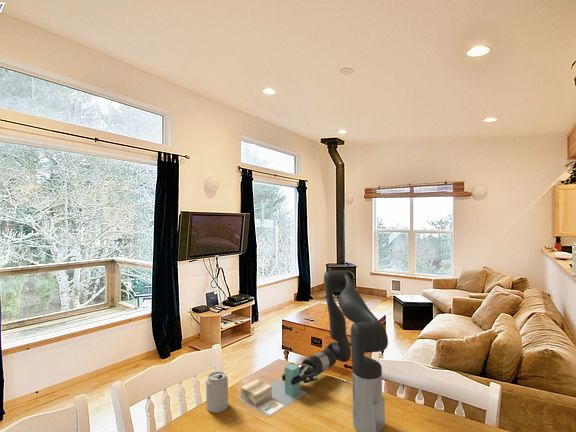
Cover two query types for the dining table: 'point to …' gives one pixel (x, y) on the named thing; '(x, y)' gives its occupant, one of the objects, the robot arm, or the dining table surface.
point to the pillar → (290, 373)
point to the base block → (256, 392)
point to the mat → (275, 399)
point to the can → (217, 392)
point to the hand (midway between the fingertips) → (287, 380)
